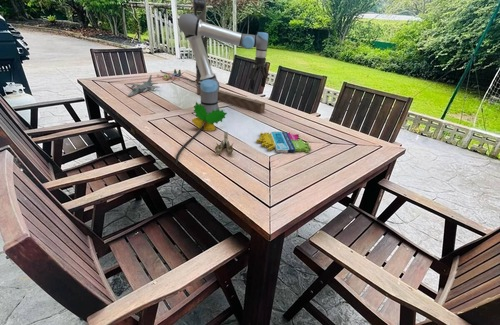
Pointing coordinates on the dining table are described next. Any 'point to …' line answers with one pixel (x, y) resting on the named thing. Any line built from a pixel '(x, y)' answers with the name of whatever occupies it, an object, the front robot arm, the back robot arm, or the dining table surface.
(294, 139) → the pack of gloves
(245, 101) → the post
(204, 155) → the dining table surface
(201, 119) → the ornament
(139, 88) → the airplane
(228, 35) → the front robot arm
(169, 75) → the toy
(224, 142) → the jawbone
